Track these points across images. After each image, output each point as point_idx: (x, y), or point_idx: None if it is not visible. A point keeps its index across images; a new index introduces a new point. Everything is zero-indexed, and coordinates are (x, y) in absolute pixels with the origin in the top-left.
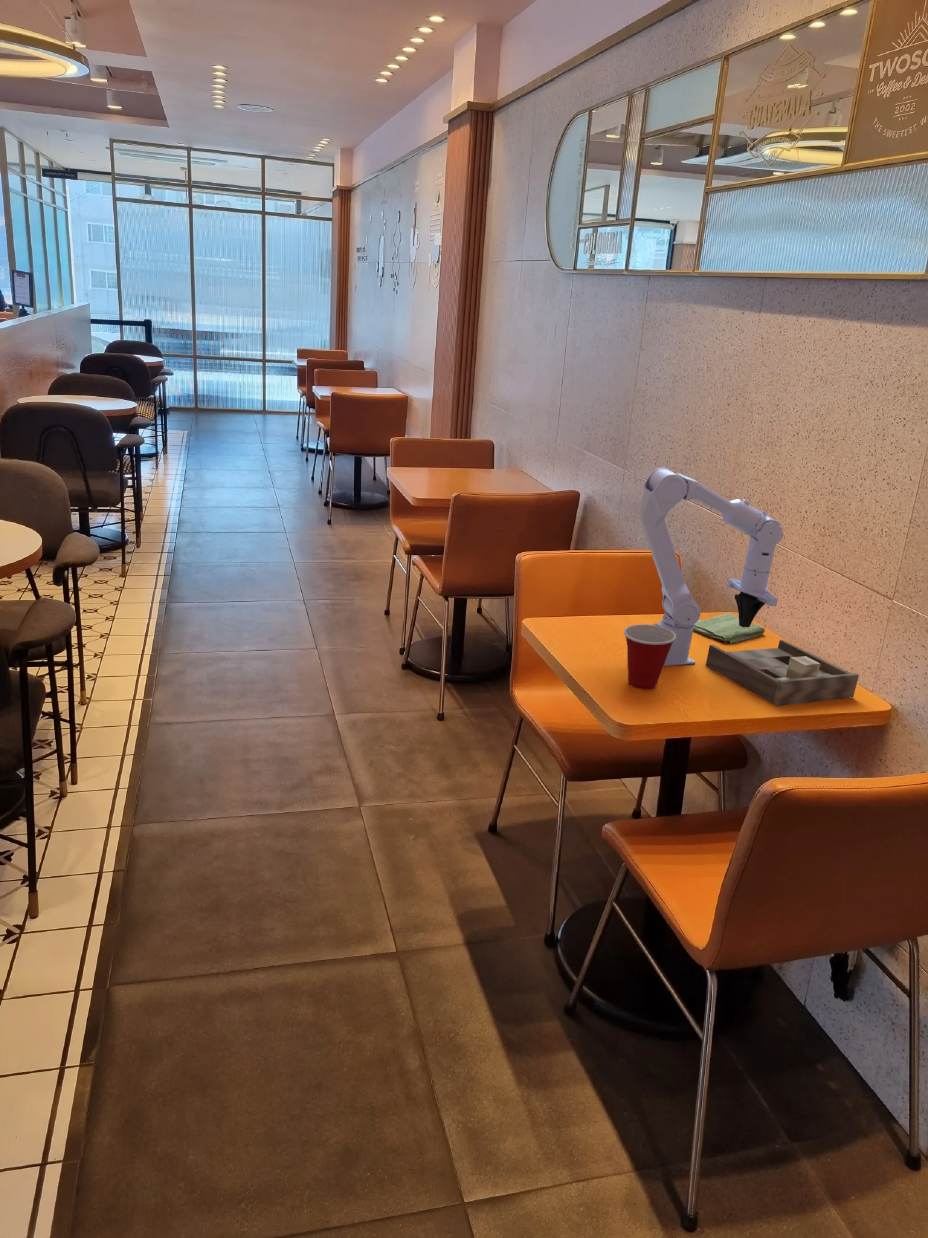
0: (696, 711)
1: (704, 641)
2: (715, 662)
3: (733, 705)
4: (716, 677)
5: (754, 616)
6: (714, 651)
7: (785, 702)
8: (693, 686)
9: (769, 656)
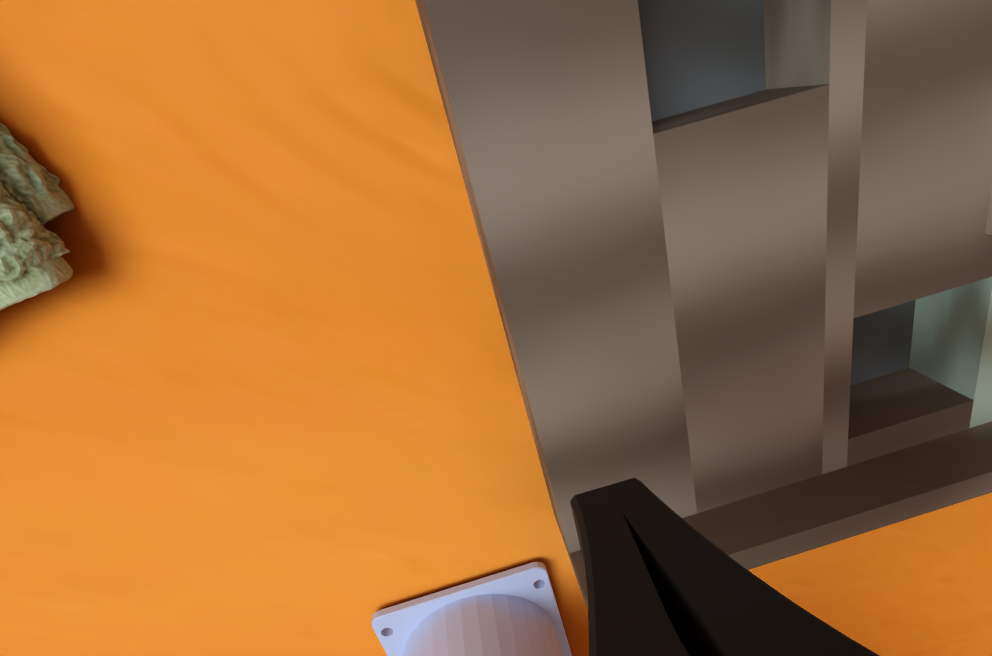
0: (956, 646)
1: (89, 397)
2: None
3: (964, 528)
4: None
5: (744, 574)
6: None
7: None
8: None
9: (635, 154)
